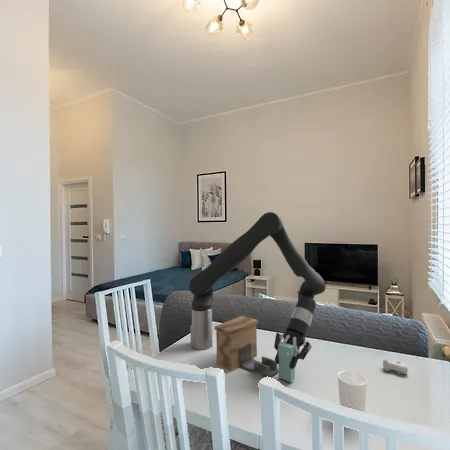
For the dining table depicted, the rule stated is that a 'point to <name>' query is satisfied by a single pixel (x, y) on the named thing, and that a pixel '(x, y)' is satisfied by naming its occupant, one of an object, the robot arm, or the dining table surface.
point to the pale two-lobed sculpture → (395, 366)
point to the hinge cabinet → (241, 347)
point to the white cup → (352, 390)
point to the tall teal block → (286, 361)
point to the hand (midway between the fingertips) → (283, 365)
